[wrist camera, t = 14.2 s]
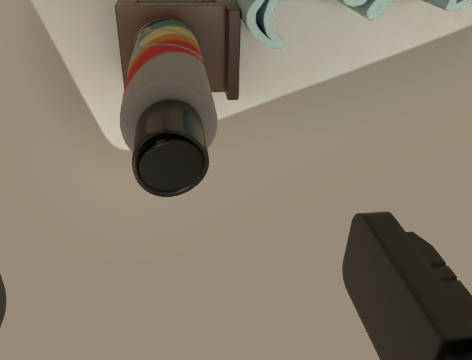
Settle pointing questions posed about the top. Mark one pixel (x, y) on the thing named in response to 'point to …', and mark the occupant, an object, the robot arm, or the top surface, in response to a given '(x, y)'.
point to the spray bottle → (167, 109)
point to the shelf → (202, 26)
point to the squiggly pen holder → (365, 3)
